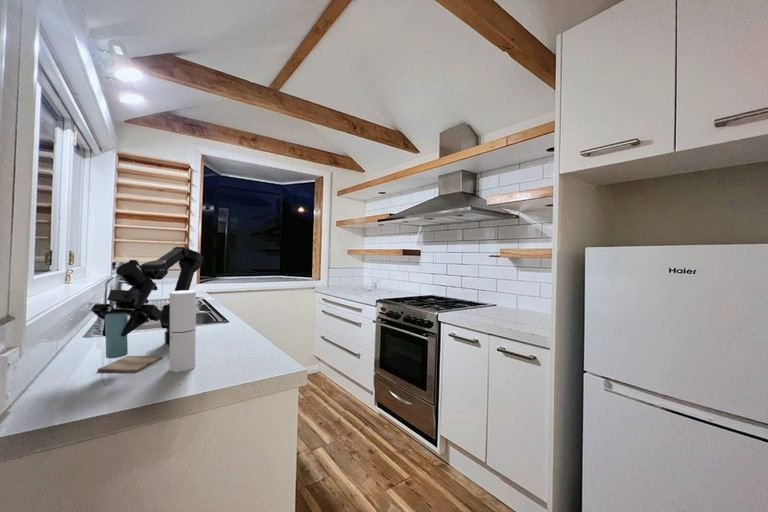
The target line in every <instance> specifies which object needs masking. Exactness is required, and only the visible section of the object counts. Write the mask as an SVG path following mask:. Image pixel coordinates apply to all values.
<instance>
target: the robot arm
mask: <svg viewBox="0 0 768 512" xmlns="http://www.w3.org/2000/svg"><path fill="white" fill-rule="evenodd" d="M203 262H204V256H203V254H201V253H200V252H198V251H196V250H192V249H190V248H188V247H186V246H175V247H173V248H172V249H171V250H169V252H167V253H166V254H164V255H162V256H160V257H159V258H158V259H155V260H151V261H150V260H149V261H147V262H144V263H142V264H141V265H140V263H139V262H138V260H137V259H130V260H129V261H127V262H125V263H123V264H121V265H120V266H118V267H117V268H116V270H115V271H116V274H117V275H118V276H119V278H120V279H121V280H122V281H124V283H126V285H127V286H131V287H130V288H129V289H127V290H126V289H125V290H124V289H110V291H109V294H108V297H107V301H110V302H111V301H112V302H114V305H115V306H116V307H113V305H111V304H110V303H95V304H94V305H93V306H92V307H91V309H90V311H91V312H92V313H93V314H94V315H95V316H96V317H98V318H99V319H100V320H103V327H102V332H101V333H102V334H101V335H102V336H103V337H105V315H106V314H110V313H116V312H126V313H127V316H129V319H128V320H127V324H126V326H125V328H124V329H123V331H122V334H121V336H123V337H124V336H126V335H127V336H128V335H129V334H130V333H131V332H133V331H134V330H135V329H137V328H139V327H141V326H142V325H143V324H145V323H149V322H150V321H159V322H160V325H161V329H166V330H165V332H164V343H165V344H167V345H168V346H170V302H169V303H168V304H164V305H163V306H162V310H160V309H159V308H158V307H157V305H155V304H148V303H149V296H150V295H151V292H152V291H158V286H157V283H156V282H154V281H155V280H156V281H159V280H163V279H164V278H165V277H166V276H167V275H168V274H169V269H170V268H171V267H173V266H174V265H175V264H177V263H178V265H179V268H180V273H179V275H178V278H177V282H176V285H175V287H174V291H183V290H190V287H191V283H192V281H193V279H194V278H193V277H194V274H195V273H196V272H197V271H199V269H201V266H202V263H203ZM117 306H118V307H117Z"/></svg>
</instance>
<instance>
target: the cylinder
mask: <svg viewBox="0 0 768 512" xmlns="http://www.w3.org/2000/svg"><path fill="white" fill-rule="evenodd" d="M127 323H128V315H127V313H126V312H116V313H110V314H106V315H105V336H104V338H105V358H107V359H118V358H123V357H126V356H128V354H129V353H128V346H129V345H128V342H129V341H128V334H127V335H126V336H124V337H123V336H121V334H122V331H123V329H124V328H125V326H126V324H127Z"/></svg>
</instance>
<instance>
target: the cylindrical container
mask: <svg viewBox="0 0 768 512" xmlns="http://www.w3.org/2000/svg"><path fill="white" fill-rule="evenodd" d="M196 294H197V291H196V290H193V289H192V290H190V289H189V290H183V291H175V290H174V291H170V292H169V303H170V345H169V371H170V372H171V371H173V373H180V371H183V372H187V371H186V370H188V371H190V370H189V369H191V370H192V368H193V369H195V367H196V337H197V335H196V332H197V330H196V328H197V327H196V319H197V318H196V315H197V314H196V311H197V310H196V309H197V307H196V305H197V304H196V297H197V295H196Z"/></svg>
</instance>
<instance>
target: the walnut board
mask: <svg viewBox="0 0 768 512" xmlns="http://www.w3.org/2000/svg"><path fill="white" fill-rule="evenodd" d="M162 359H163V355H125V356H123V357H120V359H117V360H115V361H113V362H111V363H110V362H109V364H106V365H104V366H102V367H99V368H97V373H138V371H139V372H140V371H143V370H144V369H146V368H148V367H150V366H152V365H153V364H154V362H155V363H157V362H159V361H160V360H162ZM158 360H159V361H158ZM156 361H157V362H156ZM147 366H148V367H147Z"/></svg>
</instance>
